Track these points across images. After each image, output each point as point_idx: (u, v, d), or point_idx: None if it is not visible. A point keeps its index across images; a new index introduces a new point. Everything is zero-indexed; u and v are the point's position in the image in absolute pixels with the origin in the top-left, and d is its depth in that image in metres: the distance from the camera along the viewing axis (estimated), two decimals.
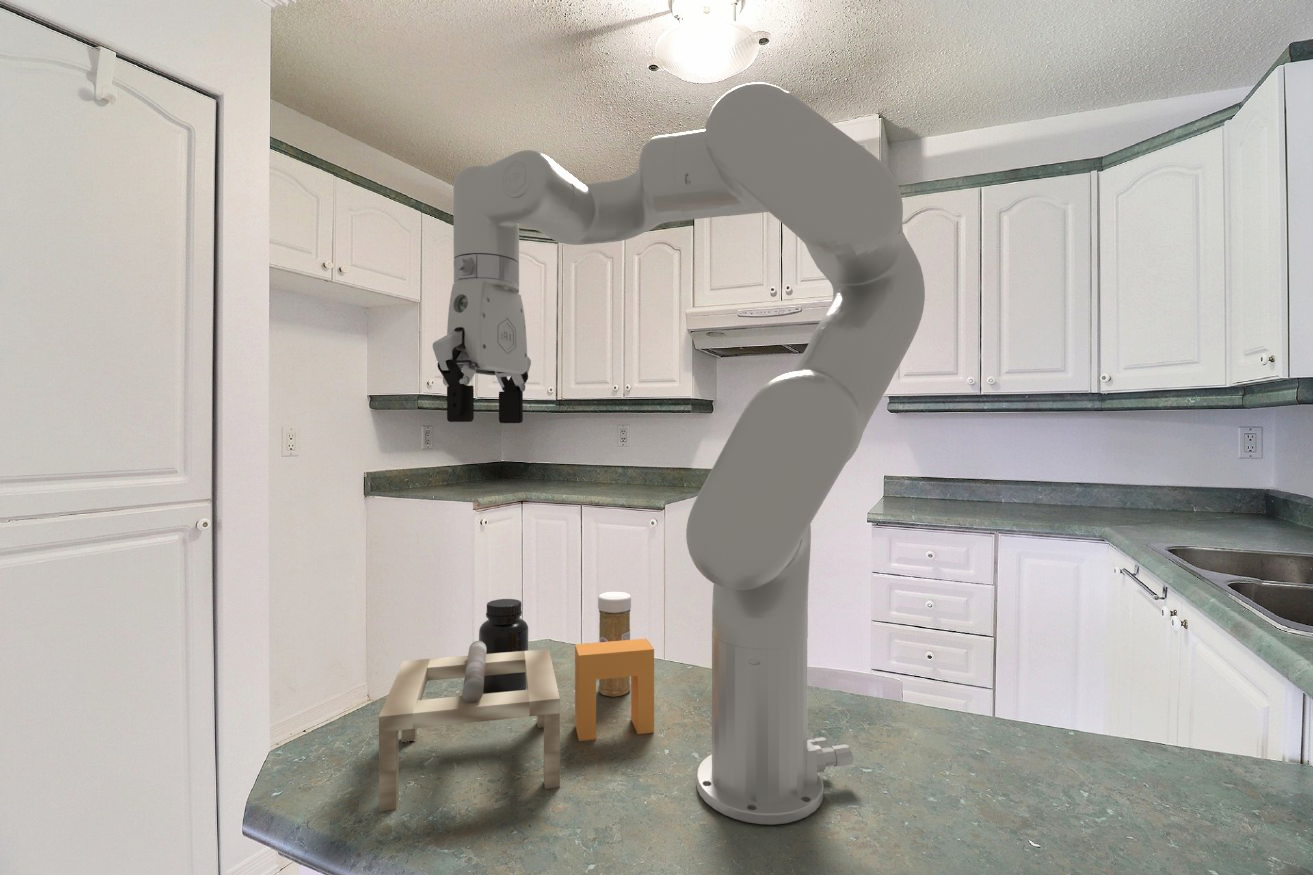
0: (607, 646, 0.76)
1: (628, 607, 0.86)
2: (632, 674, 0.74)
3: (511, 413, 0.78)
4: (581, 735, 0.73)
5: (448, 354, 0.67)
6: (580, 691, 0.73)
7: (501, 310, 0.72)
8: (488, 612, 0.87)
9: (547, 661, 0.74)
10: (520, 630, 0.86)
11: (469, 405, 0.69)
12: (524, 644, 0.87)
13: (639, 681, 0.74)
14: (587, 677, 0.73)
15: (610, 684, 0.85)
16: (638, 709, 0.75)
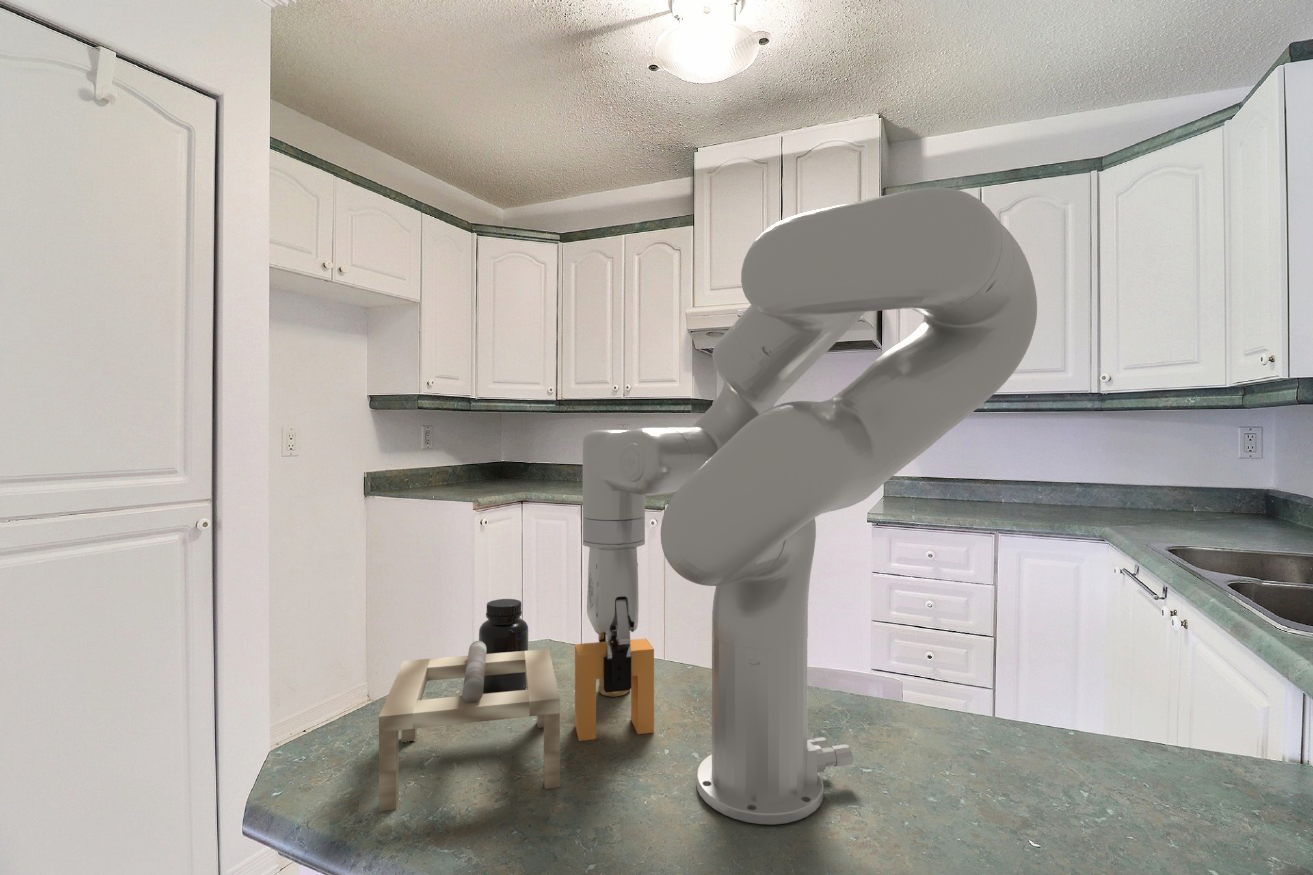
0: None
1: None
2: (632, 674, 0.74)
3: None
4: (581, 735, 0.73)
5: None
6: (580, 691, 0.73)
7: (589, 565, 0.76)
8: (488, 612, 0.87)
9: (547, 661, 0.74)
10: (520, 630, 0.86)
11: None
12: (524, 644, 0.87)
13: (638, 680, 0.74)
14: (587, 677, 0.73)
15: None
16: (638, 709, 0.75)
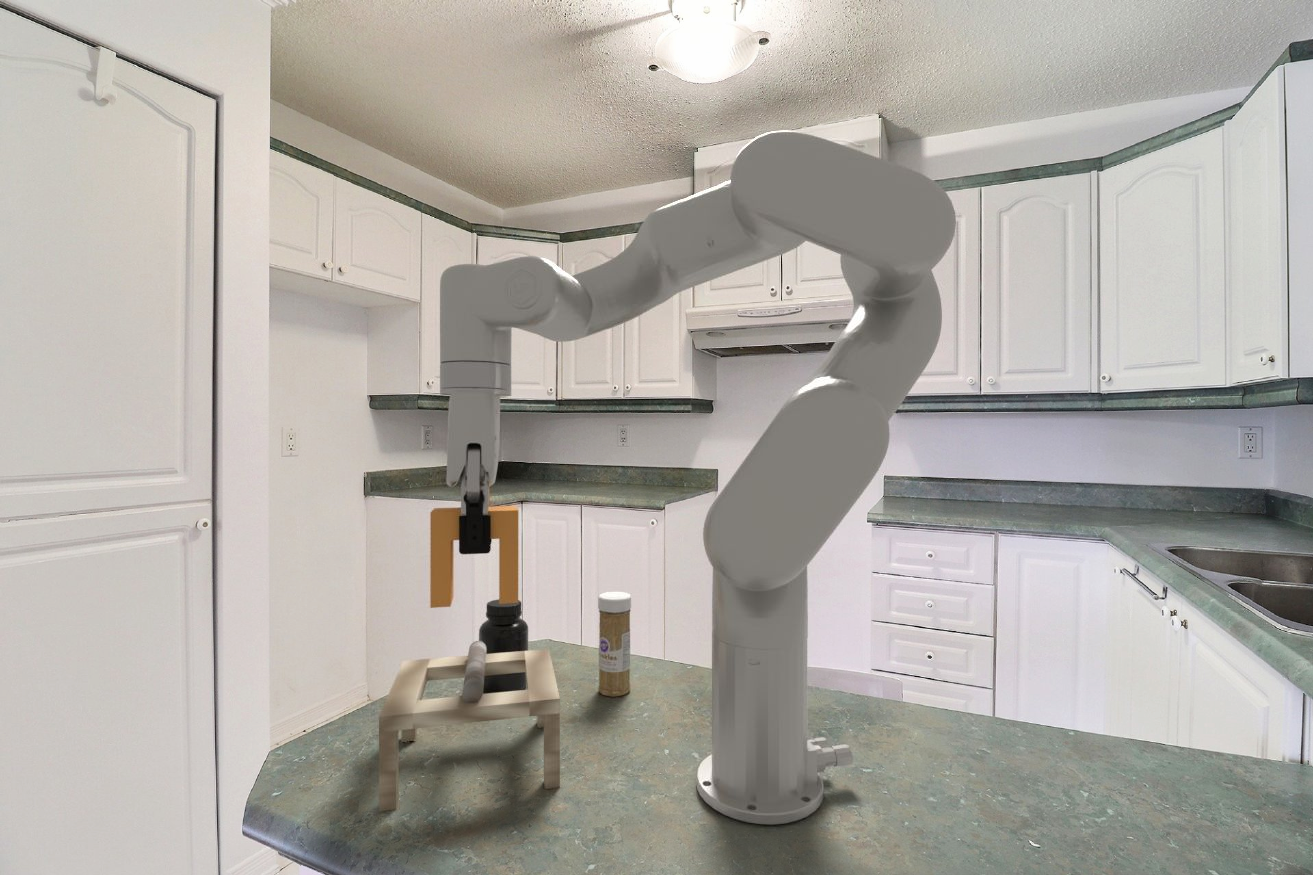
0: None
1: (628, 607, 0.86)
2: (493, 536, 0.67)
3: None
4: (433, 601, 0.66)
5: None
6: (432, 552, 0.66)
7: None
8: (488, 612, 0.87)
9: (547, 661, 0.74)
10: (519, 630, 0.86)
11: None
12: (524, 643, 0.87)
13: (500, 544, 0.67)
14: (440, 537, 0.66)
15: (610, 684, 0.85)
16: (500, 576, 0.67)
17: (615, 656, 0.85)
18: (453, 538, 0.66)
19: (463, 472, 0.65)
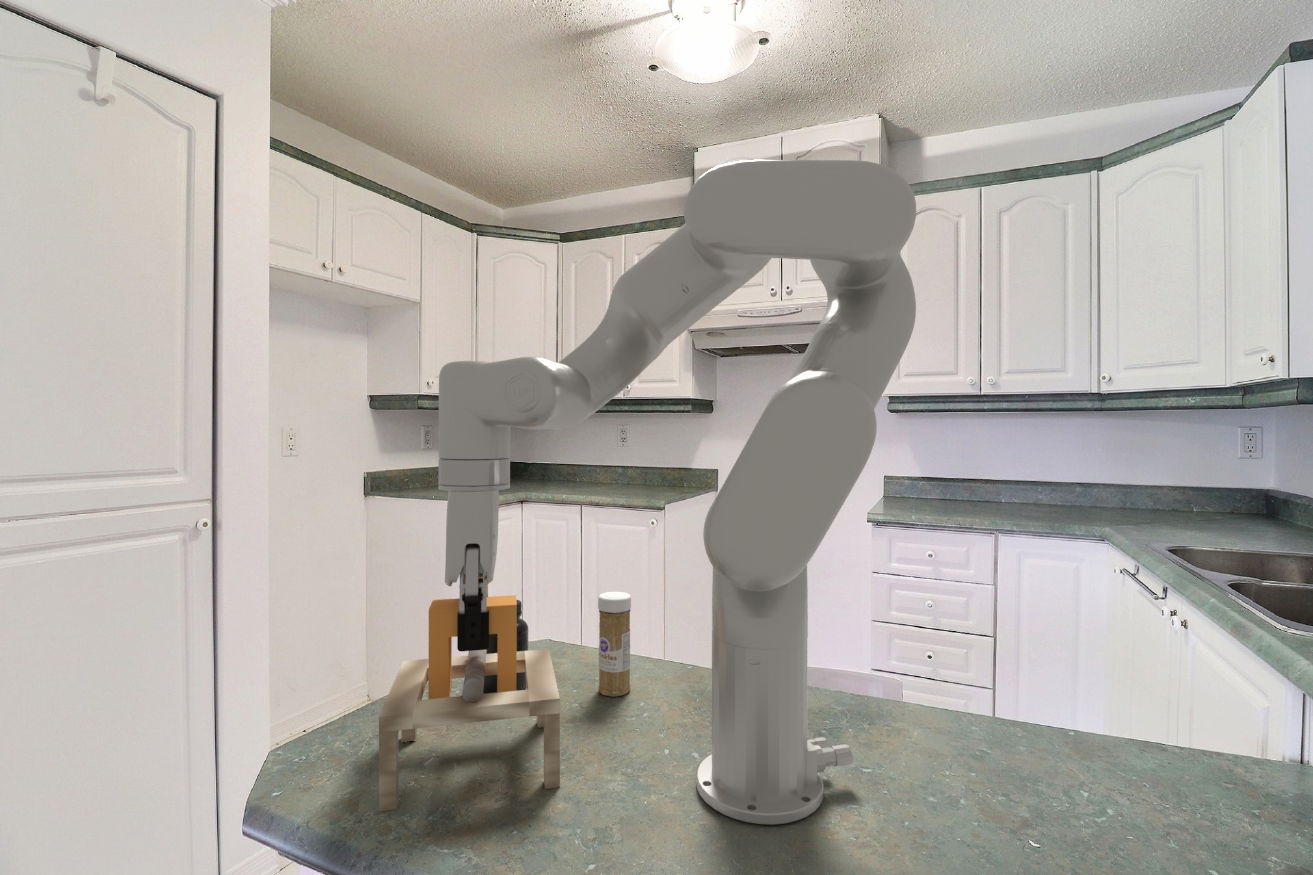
0: None
1: (628, 607, 0.86)
2: (491, 632, 0.67)
3: None
4: (431, 698, 0.66)
5: None
6: (430, 649, 0.66)
7: None
8: None
9: (547, 661, 0.74)
10: (520, 630, 0.86)
11: None
12: (524, 644, 0.87)
13: (499, 639, 0.67)
14: (438, 634, 0.66)
15: (610, 684, 0.85)
16: (498, 671, 0.67)
17: (615, 656, 0.85)
18: (451, 635, 0.66)
19: (461, 570, 0.65)
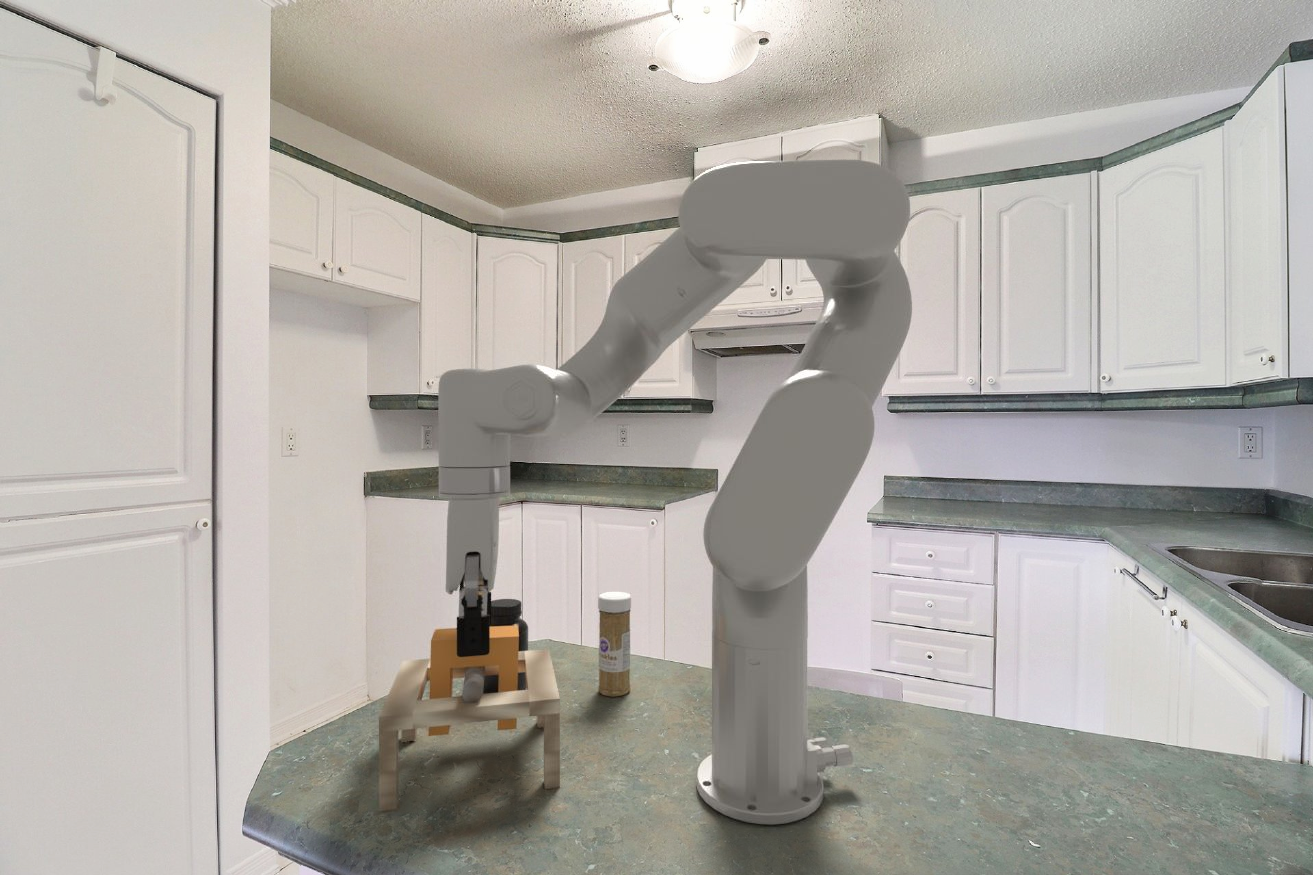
0: None
1: (628, 607, 0.86)
2: (492, 663, 0.67)
3: None
4: (431, 729, 0.66)
5: None
6: (431, 680, 0.66)
7: None
8: None
9: (547, 661, 0.74)
10: (519, 630, 0.86)
11: None
12: (524, 644, 0.87)
13: (500, 671, 0.67)
14: (440, 665, 0.66)
15: (610, 684, 0.85)
16: None
17: (615, 656, 0.85)
18: (453, 666, 0.66)
19: None
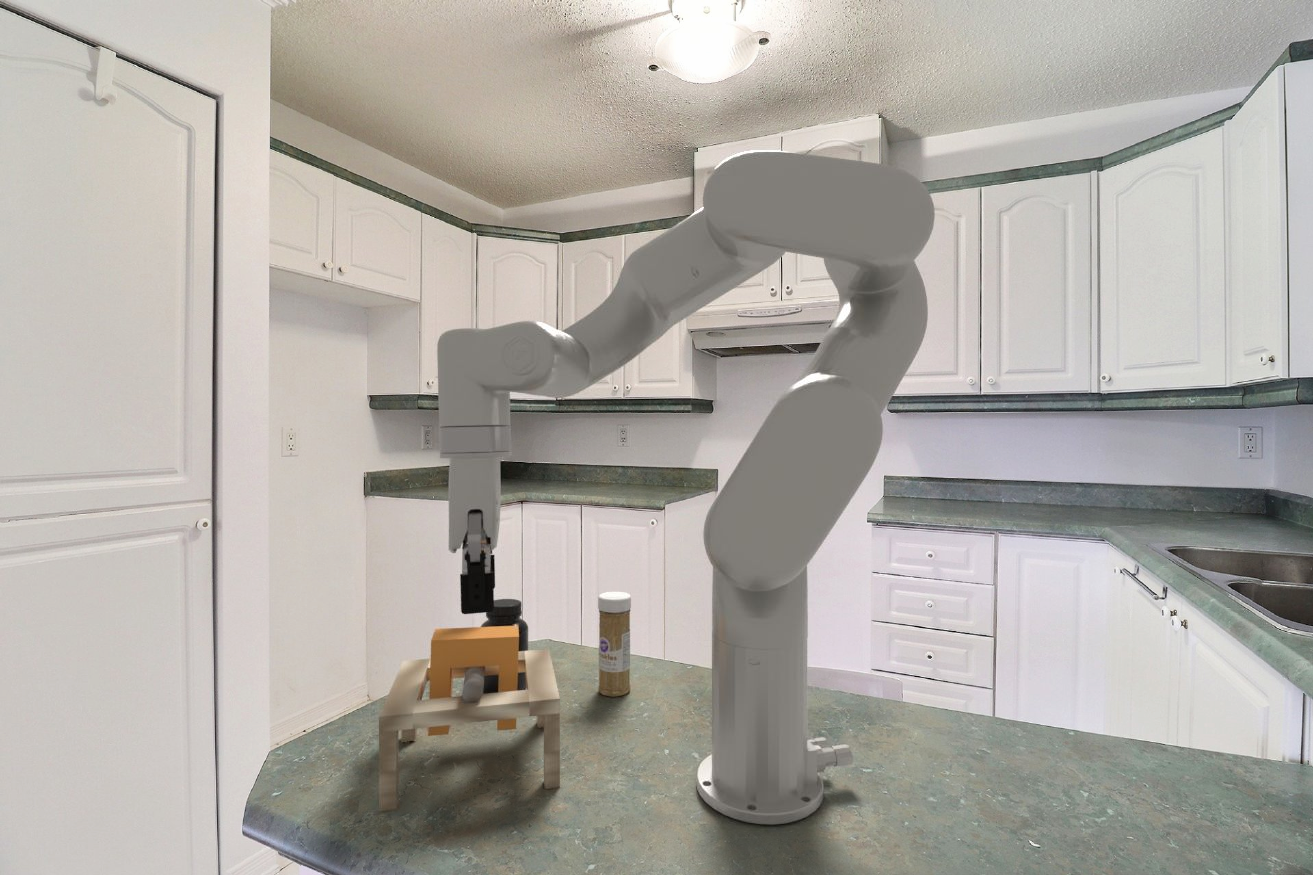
0: (469, 632, 0.69)
1: (628, 607, 0.86)
2: (492, 663, 0.67)
3: None
4: (431, 729, 0.66)
5: None
6: (431, 680, 0.66)
7: None
8: (488, 612, 0.87)
9: (547, 661, 0.74)
10: (520, 630, 0.86)
11: None
12: (524, 644, 0.87)
13: (500, 671, 0.67)
14: (440, 665, 0.66)
15: (610, 684, 0.85)
16: None
17: (615, 656, 0.85)
18: (453, 666, 0.66)
19: None
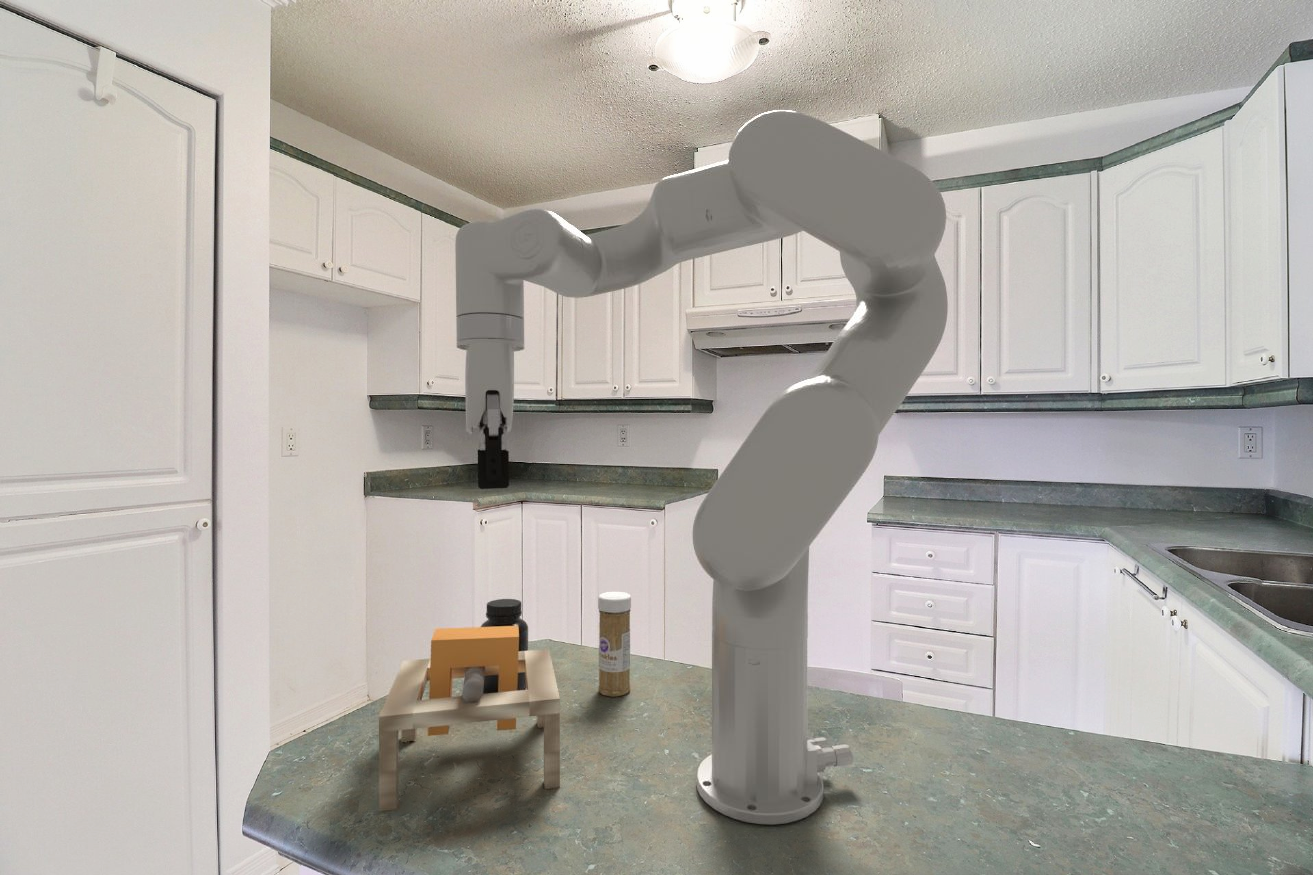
0: (469, 632, 0.69)
1: (628, 607, 0.86)
2: (492, 663, 0.67)
3: None
4: (431, 729, 0.66)
5: None
6: (431, 680, 0.66)
7: None
8: (488, 612, 0.87)
9: (547, 661, 0.74)
10: (519, 630, 0.86)
11: None
12: (524, 644, 0.87)
13: (500, 671, 0.67)
14: (440, 665, 0.66)
15: (610, 684, 0.85)
16: None
17: (615, 656, 0.85)
18: (453, 665, 0.66)
19: None
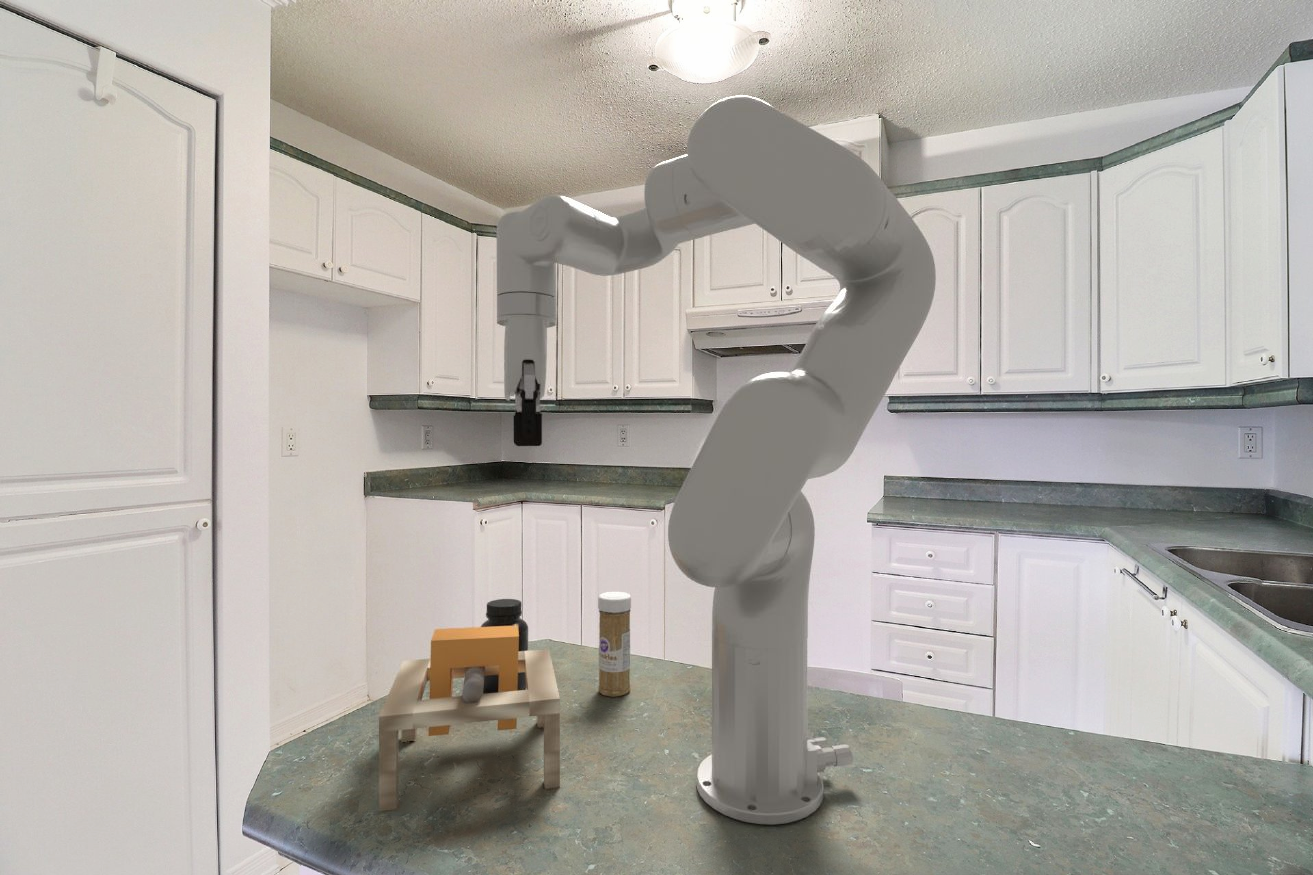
0: (469, 632, 0.69)
1: (628, 607, 0.86)
2: (492, 663, 0.67)
3: None
4: (431, 729, 0.66)
5: None
6: (431, 680, 0.66)
7: None
8: (488, 612, 0.87)
9: (547, 661, 0.74)
10: (520, 630, 0.86)
11: None
12: (524, 644, 0.87)
13: (500, 671, 0.67)
14: (440, 665, 0.66)
15: (610, 684, 0.85)
16: None
17: (615, 656, 0.85)
18: (453, 666, 0.66)
19: None
